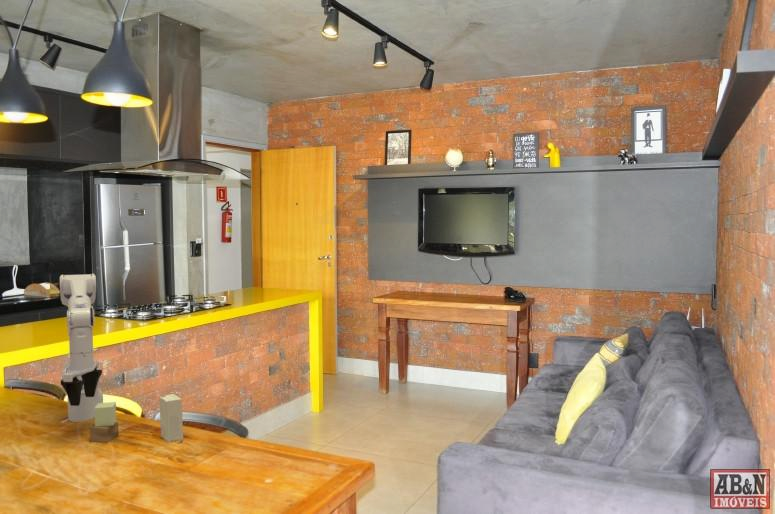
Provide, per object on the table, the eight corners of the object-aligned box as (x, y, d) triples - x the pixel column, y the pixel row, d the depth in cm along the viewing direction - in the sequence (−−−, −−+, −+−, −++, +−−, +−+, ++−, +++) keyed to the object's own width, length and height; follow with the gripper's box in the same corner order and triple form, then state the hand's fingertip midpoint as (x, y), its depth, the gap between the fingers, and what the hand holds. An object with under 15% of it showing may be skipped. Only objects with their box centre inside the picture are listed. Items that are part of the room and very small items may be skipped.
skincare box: (184, 442, 165) (183, 398, 164) (167, 446, 162) (166, 401, 161) (175, 435, 170) (175, 393, 169) (159, 439, 167) (158, 396, 166)
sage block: (98, 421, 166) (97, 403, 166) (116, 419, 167) (115, 401, 167) (95, 426, 162) (94, 408, 161) (113, 425, 163) (112, 406, 163)
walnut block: (102, 434, 167) (102, 420, 166) (118, 436, 166) (118, 422, 165) (89, 441, 162) (89, 427, 162) (106, 443, 161) (106, 428, 161)
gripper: (81, 345, 172) (82, 392, 173) (51, 357, 158) (52, 409, 159) (105, 346, 172) (106, 393, 173) (77, 358, 158) (79, 409, 159)
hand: (82, 400), depth 166 cm, fingers open, 7 cm apart
